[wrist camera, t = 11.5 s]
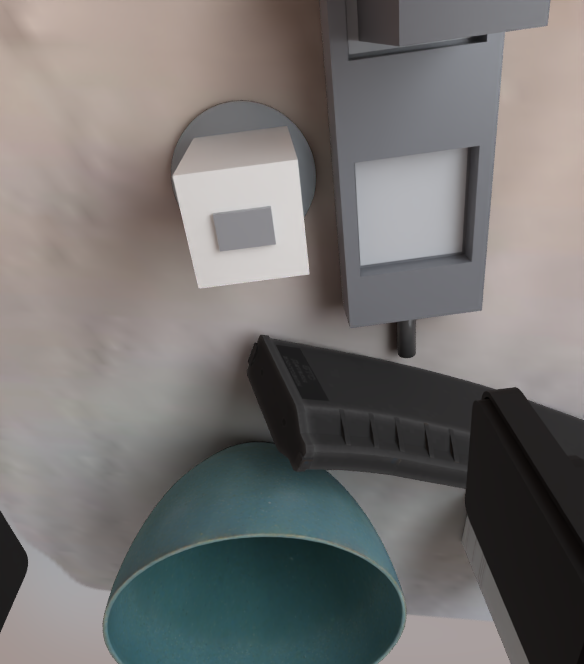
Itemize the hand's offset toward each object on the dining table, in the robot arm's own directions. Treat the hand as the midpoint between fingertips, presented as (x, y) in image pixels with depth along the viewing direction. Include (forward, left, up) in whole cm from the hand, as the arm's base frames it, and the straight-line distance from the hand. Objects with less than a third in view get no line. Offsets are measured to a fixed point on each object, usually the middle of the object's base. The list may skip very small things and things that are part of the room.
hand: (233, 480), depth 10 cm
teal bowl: (-24, +3, -23) cm, 33 cm away
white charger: (0, 0, -22) cm, 22 cm away
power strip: (+1, -9, -22) cm, 24 cm away
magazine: (-18, -12, -23) cm, 31 cm away
